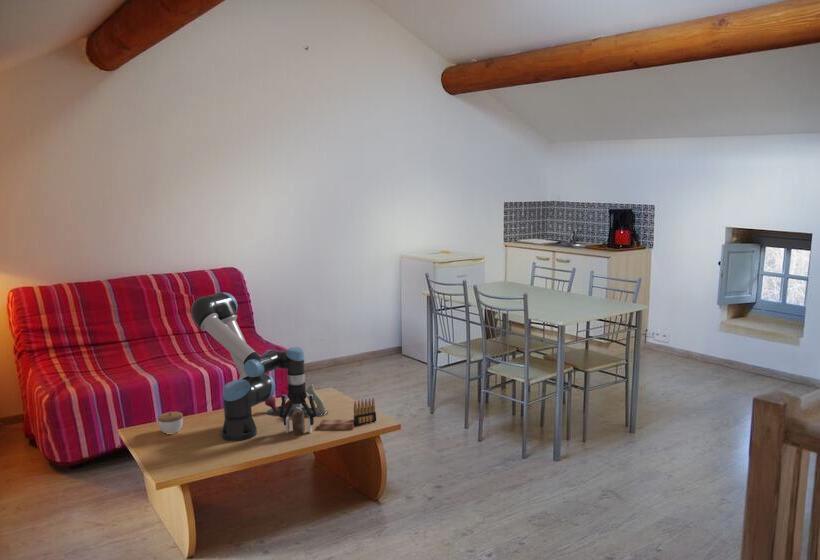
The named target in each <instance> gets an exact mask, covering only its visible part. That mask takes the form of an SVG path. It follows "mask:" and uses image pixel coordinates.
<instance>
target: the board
mask: <svg viewBox="0 0 820 560" xmlns="http://www.w3.org/2000/svg"><path fill="white" fill-rule="evenodd" d="M318 427H319V430H354V428H355V424H354V419H321V420H320V421H319V426H318Z"/></svg>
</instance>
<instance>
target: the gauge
mask: <svg viewBox="0 0 820 560" xmlns="http://www.w3.org/2000/svg"><path fill="white" fill-rule="evenodd" d="M291 422H292V423H291V424H292V436H299V435H300V436H302V435H304V432H305V431H306V425H305V424H306V423H305V416H304V411H303V410H300V411H295V412H294V413H293V414H292V415H291Z"/></svg>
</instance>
